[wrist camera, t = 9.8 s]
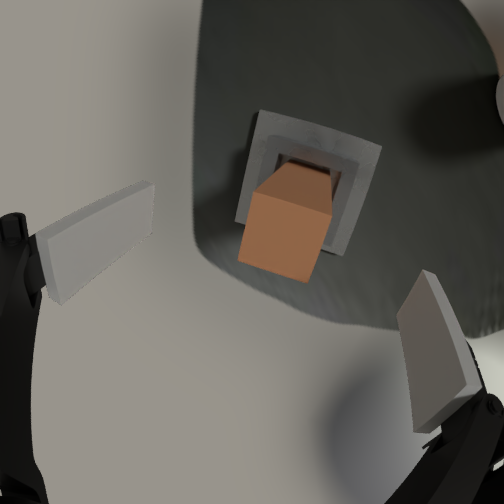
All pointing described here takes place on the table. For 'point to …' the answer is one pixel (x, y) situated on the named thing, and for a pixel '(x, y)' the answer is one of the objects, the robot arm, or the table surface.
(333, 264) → the table surface
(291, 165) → the orange square peg
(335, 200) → the grey square socket
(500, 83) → the beverage can
